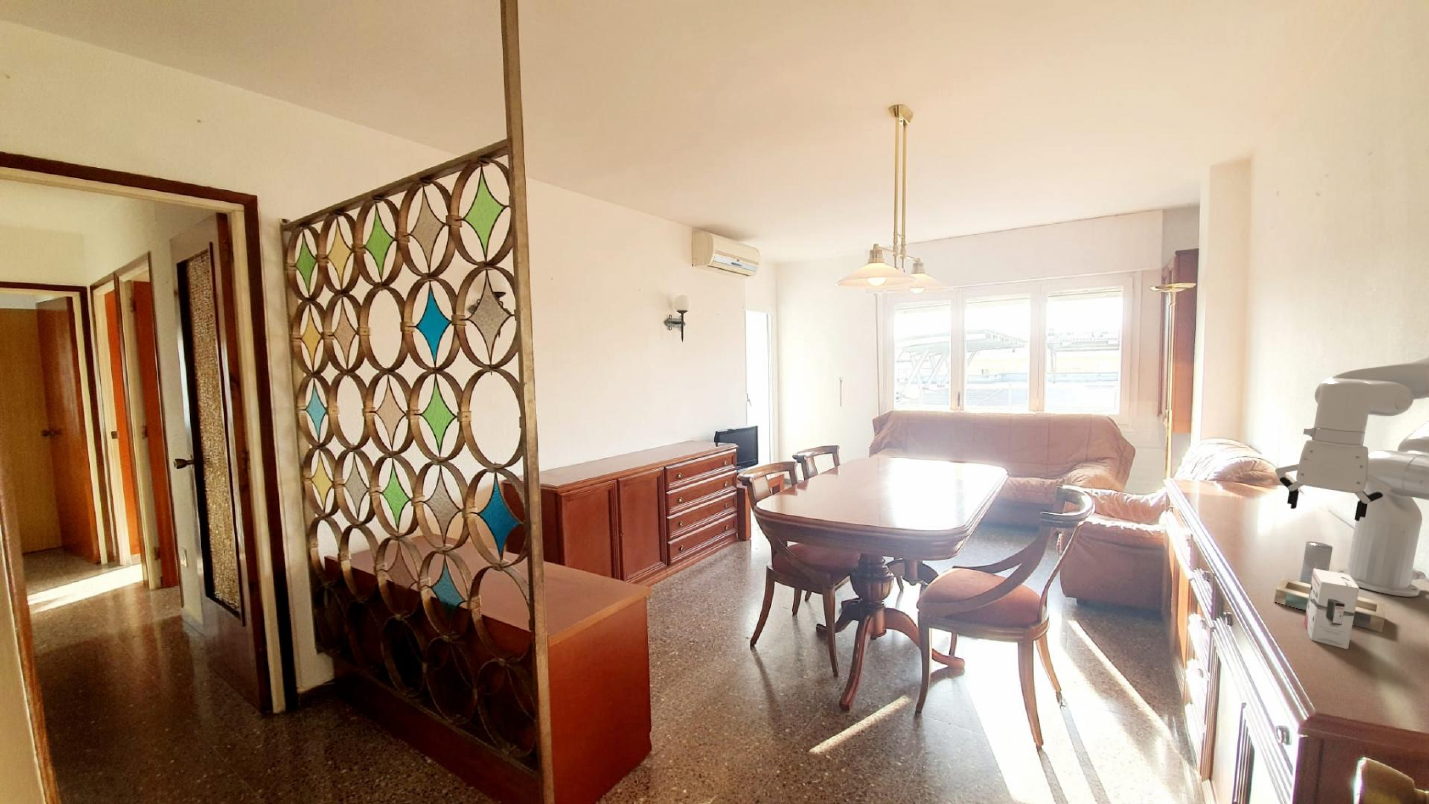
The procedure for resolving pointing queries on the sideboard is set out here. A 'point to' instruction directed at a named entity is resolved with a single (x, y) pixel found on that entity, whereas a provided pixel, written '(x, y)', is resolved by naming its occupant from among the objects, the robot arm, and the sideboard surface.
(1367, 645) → the sideboard surface
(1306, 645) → the sideboard surface
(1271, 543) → the sideboard surface
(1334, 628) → the ink box
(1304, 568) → the peg
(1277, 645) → the sideboard surface
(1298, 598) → the socket block
